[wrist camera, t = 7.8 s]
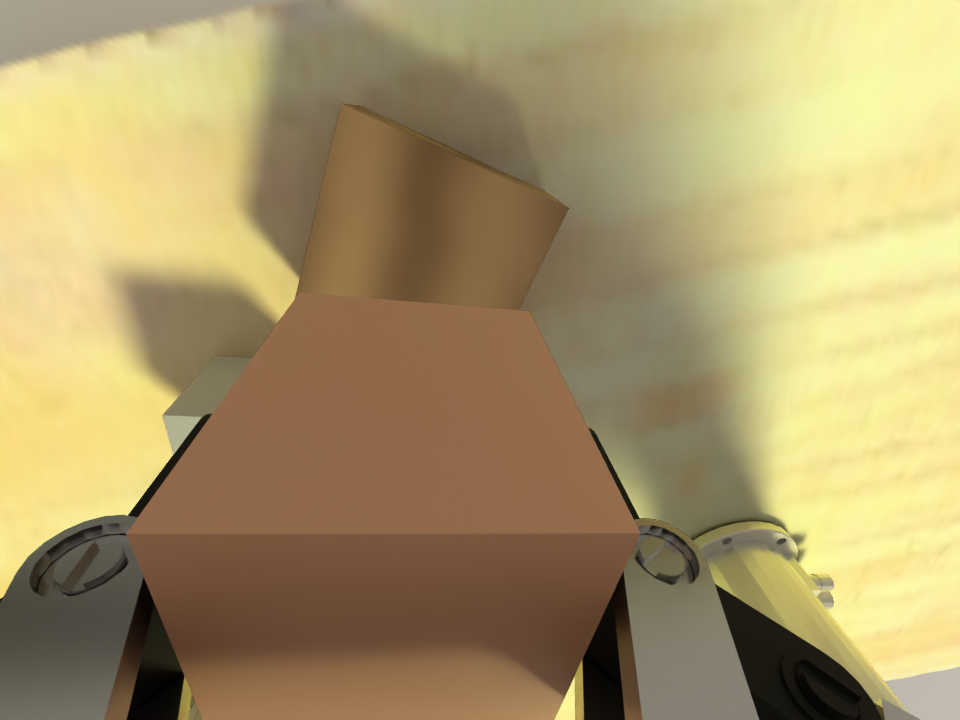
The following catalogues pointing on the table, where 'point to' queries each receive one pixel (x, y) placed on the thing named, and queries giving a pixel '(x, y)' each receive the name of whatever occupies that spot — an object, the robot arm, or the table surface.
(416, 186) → the brown flat square block
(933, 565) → the table surface
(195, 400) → the grey block
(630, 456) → the table surface
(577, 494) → the terracotta block
